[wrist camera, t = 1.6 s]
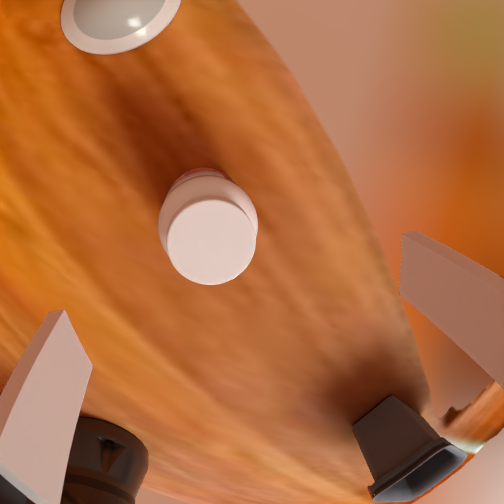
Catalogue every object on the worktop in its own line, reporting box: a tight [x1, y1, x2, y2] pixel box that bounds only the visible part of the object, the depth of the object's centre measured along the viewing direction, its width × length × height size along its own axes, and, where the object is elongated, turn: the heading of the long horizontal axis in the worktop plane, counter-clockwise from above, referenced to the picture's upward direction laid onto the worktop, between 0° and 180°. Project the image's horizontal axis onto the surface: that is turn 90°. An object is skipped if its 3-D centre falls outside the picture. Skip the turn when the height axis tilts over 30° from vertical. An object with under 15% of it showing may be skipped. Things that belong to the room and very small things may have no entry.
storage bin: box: [352, 396, 467, 502], centre depth 38 cm, size 21×16×14 cm
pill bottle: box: [158, 168, 258, 285], centre depth 21 cm, size 6×6×11 cm
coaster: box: [61, 0, 181, 55], centre depth 18 cm, size 11×11×1 cm
